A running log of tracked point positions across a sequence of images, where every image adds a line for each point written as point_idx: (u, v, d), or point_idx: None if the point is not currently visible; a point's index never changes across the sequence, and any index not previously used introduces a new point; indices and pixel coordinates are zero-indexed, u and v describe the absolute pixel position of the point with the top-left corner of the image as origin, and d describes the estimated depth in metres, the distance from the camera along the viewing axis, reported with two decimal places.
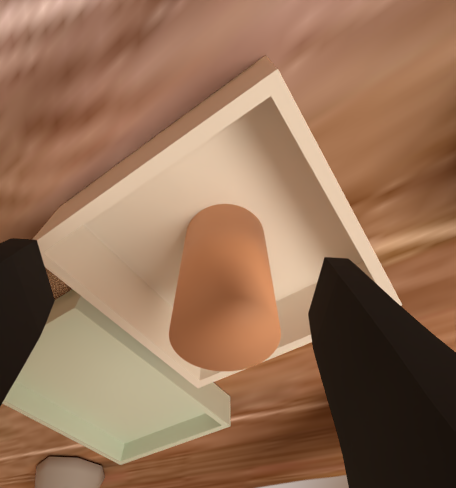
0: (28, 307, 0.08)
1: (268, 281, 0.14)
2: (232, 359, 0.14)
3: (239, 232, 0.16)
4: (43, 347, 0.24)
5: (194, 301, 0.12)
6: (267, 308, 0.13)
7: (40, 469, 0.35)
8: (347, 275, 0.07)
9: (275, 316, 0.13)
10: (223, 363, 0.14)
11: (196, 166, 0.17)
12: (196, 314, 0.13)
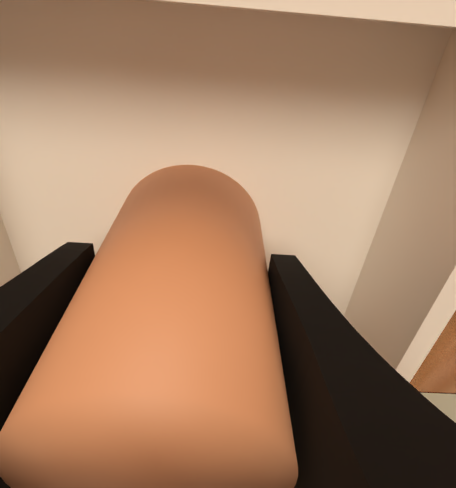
0: None
1: (168, 281, 0.05)
2: None
3: (121, 223, 0.08)
4: None
5: None
6: (110, 387, 0.04)
7: None
8: (286, 272, 0.07)
9: (158, 388, 0.04)
10: None
11: (44, 186, 0.10)
12: (39, 480, 0.05)
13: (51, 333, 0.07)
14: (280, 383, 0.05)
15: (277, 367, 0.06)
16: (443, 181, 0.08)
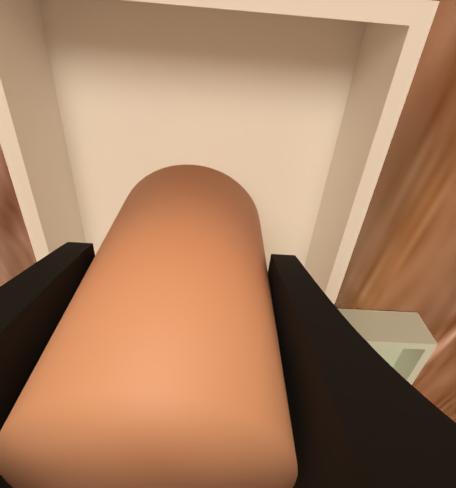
0: None
1: (168, 280, 0.05)
2: None
3: (122, 222, 0.08)
4: None
5: None
6: (110, 387, 0.04)
7: None
8: (286, 272, 0.07)
9: (158, 386, 0.04)
10: None
11: (100, 131, 0.15)
12: (39, 478, 0.05)
13: (51, 333, 0.07)
14: (280, 382, 0.05)
15: (277, 366, 0.06)
16: (361, 118, 0.12)
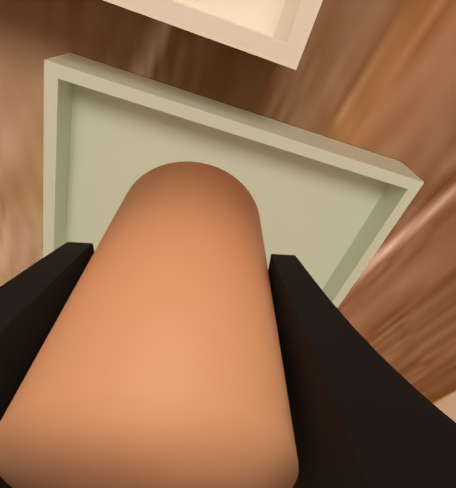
0: None
1: (163, 276, 0.05)
2: None
3: (119, 220, 0.08)
4: (101, 206, 0.17)
5: None
6: (102, 382, 0.04)
7: None
8: (286, 272, 0.07)
9: (151, 381, 0.04)
10: None
11: None
12: (38, 478, 0.05)
13: None
14: (279, 376, 0.05)
15: (276, 360, 0.05)
16: None
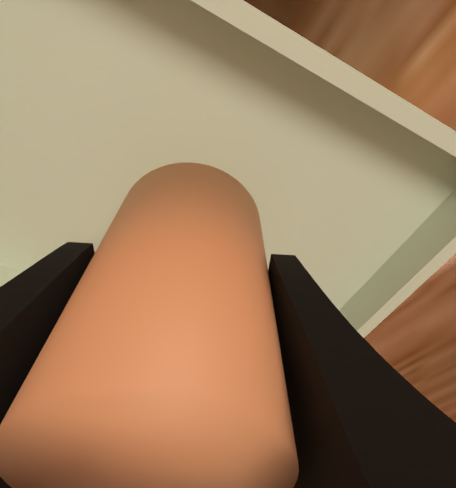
0: None
1: (162, 277, 0.05)
2: None
3: (119, 222, 0.08)
4: (18, 149, 0.11)
5: None
6: (103, 383, 0.04)
7: None
8: (286, 272, 0.07)
9: (151, 383, 0.04)
10: None
11: None
12: (38, 479, 0.05)
13: None
14: (279, 377, 0.05)
15: (276, 361, 0.05)
16: None
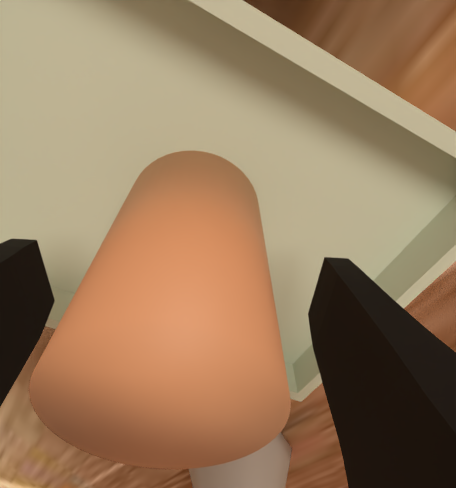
0: (28, 307, 0.08)
1: (173, 242, 0.06)
2: (236, 429, 0.06)
3: (131, 202, 0.08)
4: (13, 152, 0.10)
5: (33, 401, 0.06)
6: (127, 320, 0.05)
7: None
8: (347, 275, 0.07)
9: (167, 319, 0.05)
10: (236, 441, 0.06)
11: None
12: (67, 414, 0.06)
13: None
14: (274, 328, 0.06)
15: (271, 316, 0.06)
16: None
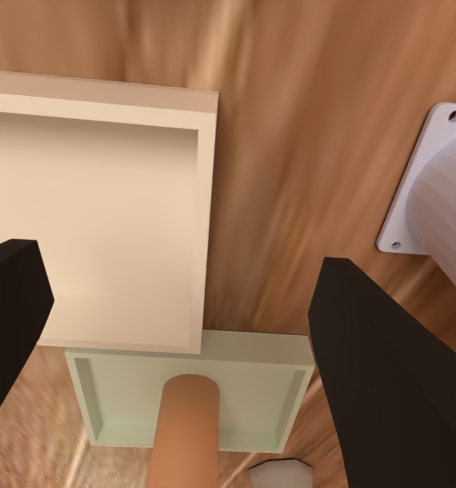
0: (28, 307, 0.08)
1: (171, 446, 0.21)
2: None
3: (160, 416, 0.23)
4: (115, 390, 0.26)
5: None
6: (160, 482, 0.19)
7: (251, 483, 0.36)
8: (347, 275, 0.07)
9: (169, 481, 0.19)
10: None
11: None
12: None
13: None
14: (205, 468, 0.20)
15: (205, 463, 0.21)
16: None
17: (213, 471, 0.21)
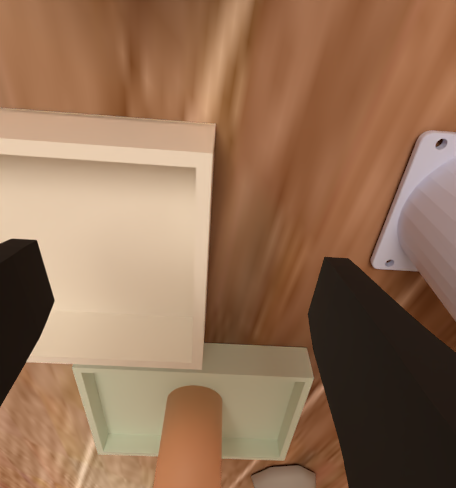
0: (28, 307, 0.08)
1: (175, 457, 0.22)
2: None
3: (164, 427, 0.24)
4: (121, 402, 0.27)
5: None
6: None
7: None
8: (347, 275, 0.07)
9: None
10: None
11: (5, 213, 0.18)
12: None
13: None
14: (208, 478, 0.21)
15: (208, 473, 0.21)
16: None
17: (216, 481, 0.22)
